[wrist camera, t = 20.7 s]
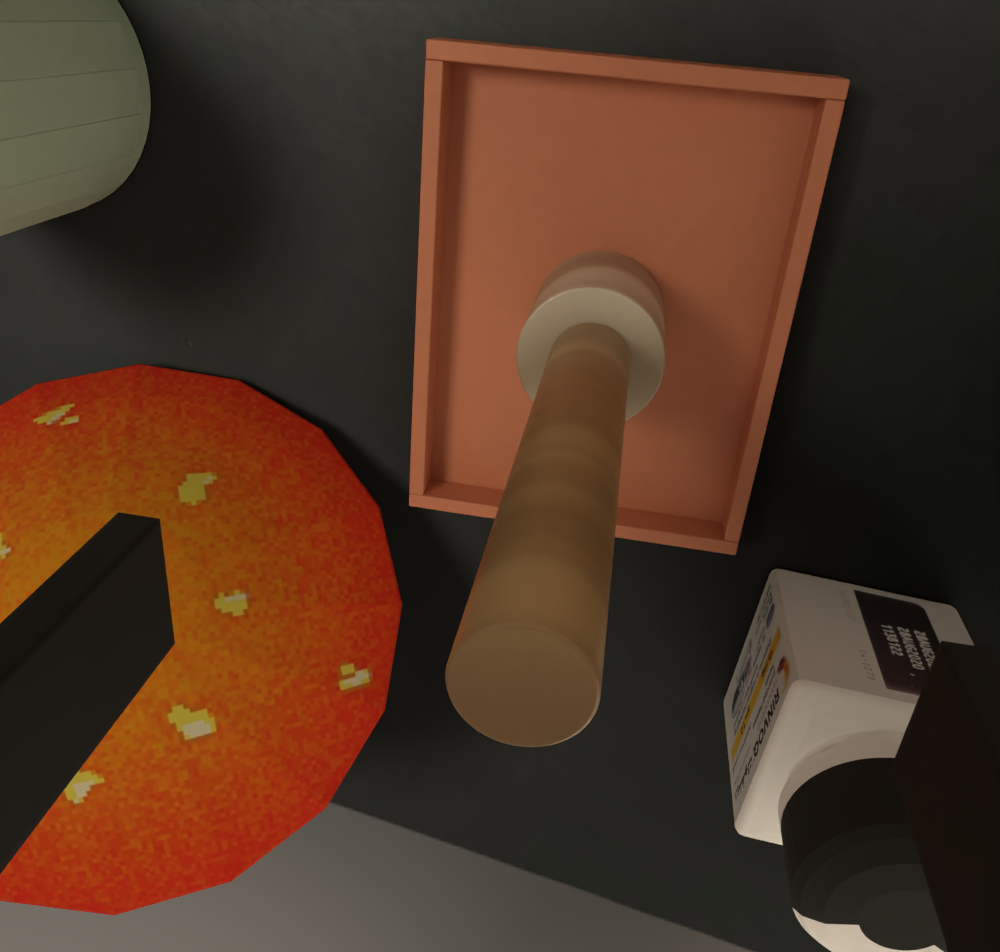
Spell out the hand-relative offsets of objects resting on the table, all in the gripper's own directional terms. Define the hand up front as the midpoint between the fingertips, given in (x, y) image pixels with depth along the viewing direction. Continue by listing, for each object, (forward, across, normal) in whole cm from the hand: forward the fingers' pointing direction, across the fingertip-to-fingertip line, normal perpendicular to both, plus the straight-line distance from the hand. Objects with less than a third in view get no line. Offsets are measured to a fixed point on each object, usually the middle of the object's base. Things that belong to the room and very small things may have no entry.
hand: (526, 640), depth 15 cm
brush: (+20, 0, -1) cm, 20 cm away
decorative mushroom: (+21, -16, -12) cm, 29 cm away
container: (+21, +12, -14) cm, 28 cm away
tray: (+21, 0, 0) cm, 21 cm away
